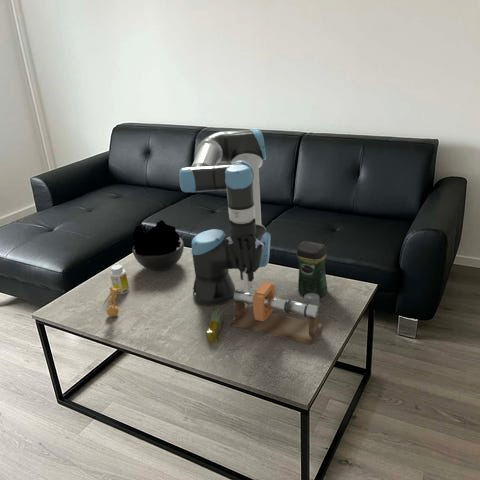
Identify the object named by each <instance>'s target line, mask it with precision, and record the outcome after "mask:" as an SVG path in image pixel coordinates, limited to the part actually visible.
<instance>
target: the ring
mask: <svg viewBox="0 0 480 480" xmlns="http://www.w3.org/2000/svg"><path fill="white" fill-rule="evenodd" d="M275 290H276V289H275V284H274V283H272V282H269V281H263V282H262V283H261V284H260V285H259V286H258V288H257V289H256V290H255V291H254V293H255V294H254V295H253V305H252V309H253V311H254V317H255V320H260V321H264V320H266V319H267V318H268V317H269V315H270V314H271V313H273V311H274V309H270V308H265V307H264V300H265V297H266V296H270V297H275V298H276V291H275Z"/></svg>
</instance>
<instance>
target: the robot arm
mask: <svg viewBox="0 0 480 480" xmlns="http://www.w3.org/2000/svg"><path fill="white" fill-rule="evenodd" d="M266 151H267V150H266V146H265V139H264V134H263V132H262V131H261V130H260V129H258V128H257V129H256V128H255V129H252V128H249V129H240V130H239V129H238V130H221V131H216V132H215V133H212V134H209V135H208V136H206V137H205V138H204V139H202V140H201V141H200V142H199V143H198V145H197V148H196V152H195V154H196V156H195V159H194V161H193V162H192V164H191V166H187V167H182V168H180V169H179V174H178V177H179V179H178V180H179V187H180V189H181V191H182V192H183V193H193V194H195V193H203V192H214V191H215V192H216V191H226V197H227V208H228V210H227V211H228V219H229V229H230V234H226V233H225V231H224V230H223V229H218V228H216V229H215V228H212V229H208V230H204V231H202V232H199V233H198V234H196V235H195V236H194V237H193V238H192V240H191V254H192V255H191V256H192V260H193V267H194V275H195V278H194V282H193V287H192V296H193V299H194V301H195V302H196V303H199V304H201V305H204V306H219V305H222V304H226V303H227V302H230V301H231V300H232V299H234V293H235V291H236V290H237V289H236V285H235V283H234V281H233V279H232V276H231V275H230V273H229V272H230V271H229V270H239V275H240V280H241V281H243V283H242V284H243V291H245V292H250V291H251V289H252V288H253V281H254V278H255V276H254V273H256V271H257V270H258V269H259V268H265V267H267V265H268V264H269V260H270V254H271V253H270V251H271V233H270V232H268V231H267V229H266V227H265V226H264V225H263V224H262V213H261V186H260V168H261V167H262V166H263V161H266V160H267V152H266ZM222 163H230V164H222ZM218 164H219V165H218ZM220 164H221V165H220Z"/></svg>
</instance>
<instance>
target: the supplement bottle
mask: <svg viewBox="0 0 480 480" xmlns="http://www.w3.org/2000/svg"><path fill="white" fill-rule="evenodd" d="M110 271H111V272H110V274H109V276H110V281H111V284H112V287H113V288H115V289H118V288H121V293H120V290H118V292H117V295H124V294H126V293H128V292H129V291H130V286H129V280H128V277H127V271H126V270H125V269H124V268H123V265H122V264H114V265H112V266H111V268H110Z"/></svg>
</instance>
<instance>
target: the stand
mask: <svg viewBox="0 0 480 480" xmlns="http://www.w3.org/2000/svg"><path fill="white" fill-rule="evenodd" d="M233 310H234V311H233V312H234V318H233V319H232V321H231V322H230V323H231V326H232V327H233V326H234V327H238V328H242V329H245V330H249V331H253V332H258V333H262V334H265V335H267V334H268V335H271V336H275V337H281V338H284V339H287V340H292V341H296V342H297V341H298V342H301V343H306V344H309V345H314V342H315V340H316V339H317V337H318V335H319V334H320V331H321V330H322V327H323V323H320V312H319V313H318V314H317V317H316V318H313V317H309V319H308V320H306V319H305V320H304V319H302V318H296V317H290V316H286V315H282V314H277V313H273V312H272V313H271V314H270V315H269V317H268V318H267V319H266V320H264V321H260V320H255V317H254V311H253V308H249V307H246V303H242V302H237V301H234V303H233Z"/></svg>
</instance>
